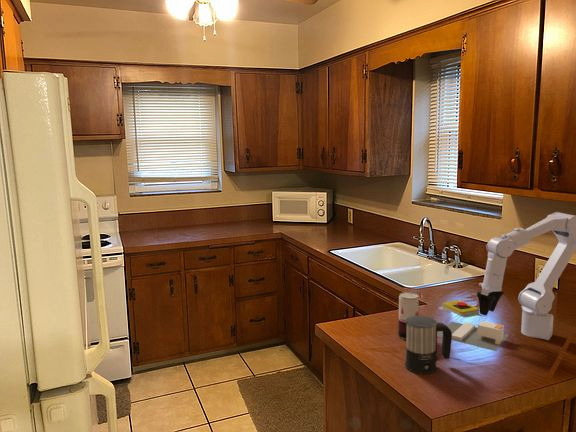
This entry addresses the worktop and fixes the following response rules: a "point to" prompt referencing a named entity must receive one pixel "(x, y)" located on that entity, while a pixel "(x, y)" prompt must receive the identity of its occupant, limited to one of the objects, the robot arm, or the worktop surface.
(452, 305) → the emergency button
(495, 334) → the block
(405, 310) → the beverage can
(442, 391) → the worktop surface
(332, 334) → the worktop surface
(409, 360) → the milk frother
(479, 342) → the rail panel
